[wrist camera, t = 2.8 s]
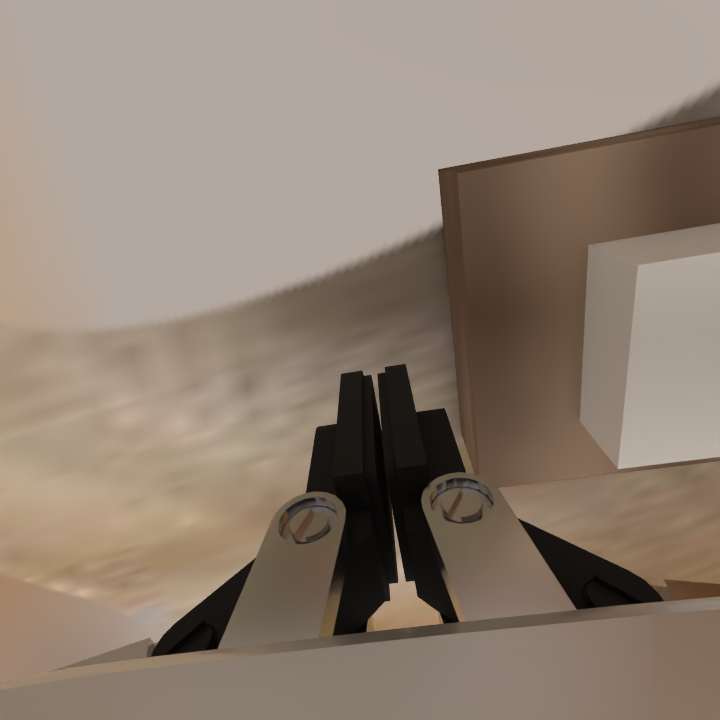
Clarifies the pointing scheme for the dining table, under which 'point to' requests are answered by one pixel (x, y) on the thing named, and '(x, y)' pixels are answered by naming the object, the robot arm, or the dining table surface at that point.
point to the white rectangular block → (653, 347)
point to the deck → (553, 283)
